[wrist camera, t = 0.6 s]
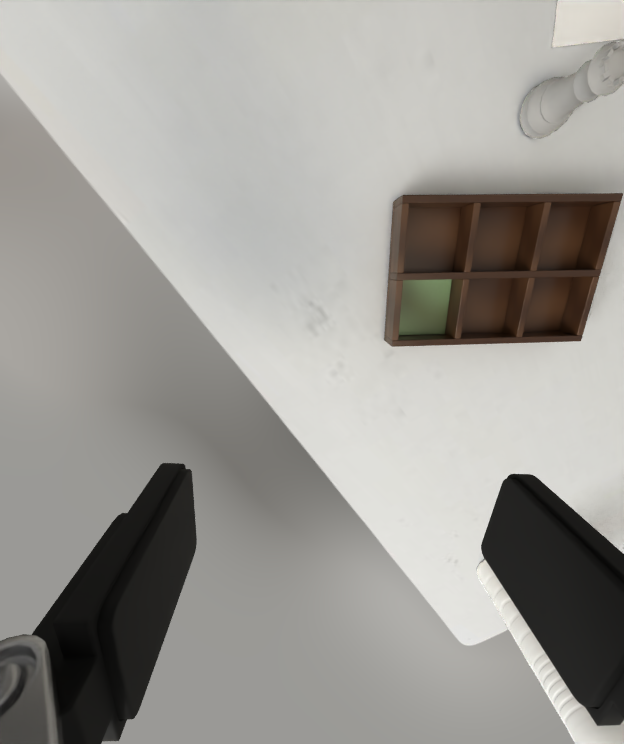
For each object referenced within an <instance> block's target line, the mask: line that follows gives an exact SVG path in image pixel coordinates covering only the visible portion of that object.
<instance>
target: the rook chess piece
mask: <svg viewBox="0 0 624 744" xmlns="http://www.w3.org/2000/svg"><path fill="white" fill-rule="evenodd" d="M623 82H624V40H622V41H619V42H611V43H608V44H606V45H604V46H603V47H602V48H601V49H600V50H599V51H597V52H596V54H595V55H594V57H593V59H592V60H589V61H587V62H586V63H584V64H583V65H582V66H581V67H580V69H579V70H578V71H577V72H576V73H574V74H572V75H570V76H568V77H554V78H551V79H549V80H546V81H544V82H543V83H541V84H540V85H538V86H536V87H535V88H534V89H533V90H532V91H531V92H530V93H529V94H528V95H527V97H526V98H525V100H524V102H523V104H522V108H521V113H520V124H521V127H522V129H523V131H524V133H525V134H527V135H528V136H530V137H531V138H537V139H541V138H544V137H546V136H548V135H550V134H551V133H552V132H554V131H556V130H558V129H559V128H560V127H561V126H562V125H563V124H564V123H565V122H566V121H567V120H568V118H569V116H570V115H571V114H572V113H573V111H574V110H575V109H576V108H578V107H579V106H580V105H582V104H583V103H585V102H590V101H593V100H595V99H596V98H597V97H598V96H607V95H609V94H612V93H614V92H615V91H616V90H617V89H618V88H619V87H620V86H621V85H622V84H623Z"/></svg>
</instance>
